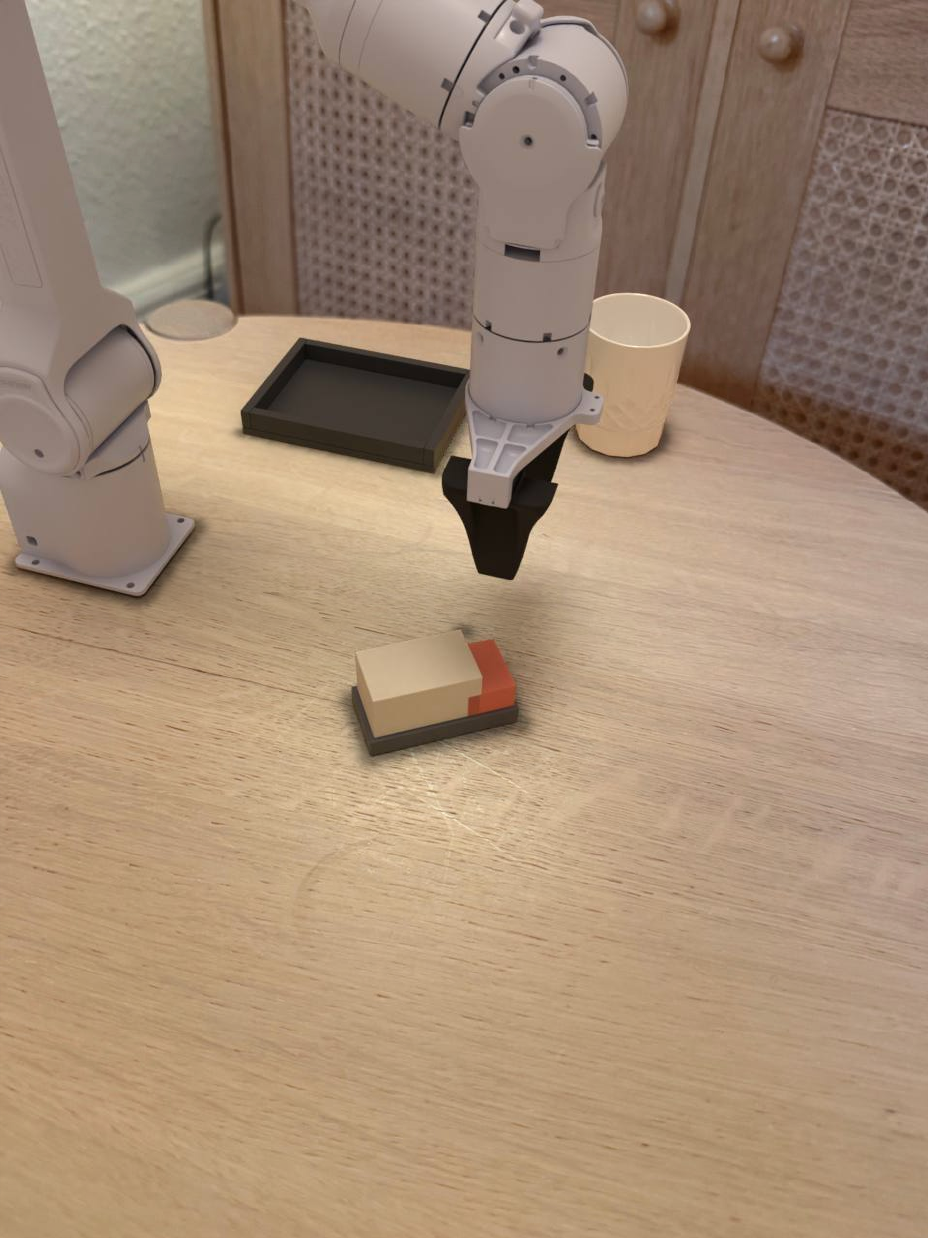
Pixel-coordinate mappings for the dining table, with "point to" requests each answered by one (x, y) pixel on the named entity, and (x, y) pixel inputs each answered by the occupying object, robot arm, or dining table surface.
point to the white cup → (633, 370)
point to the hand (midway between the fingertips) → (513, 529)
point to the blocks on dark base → (431, 690)
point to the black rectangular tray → (360, 404)
